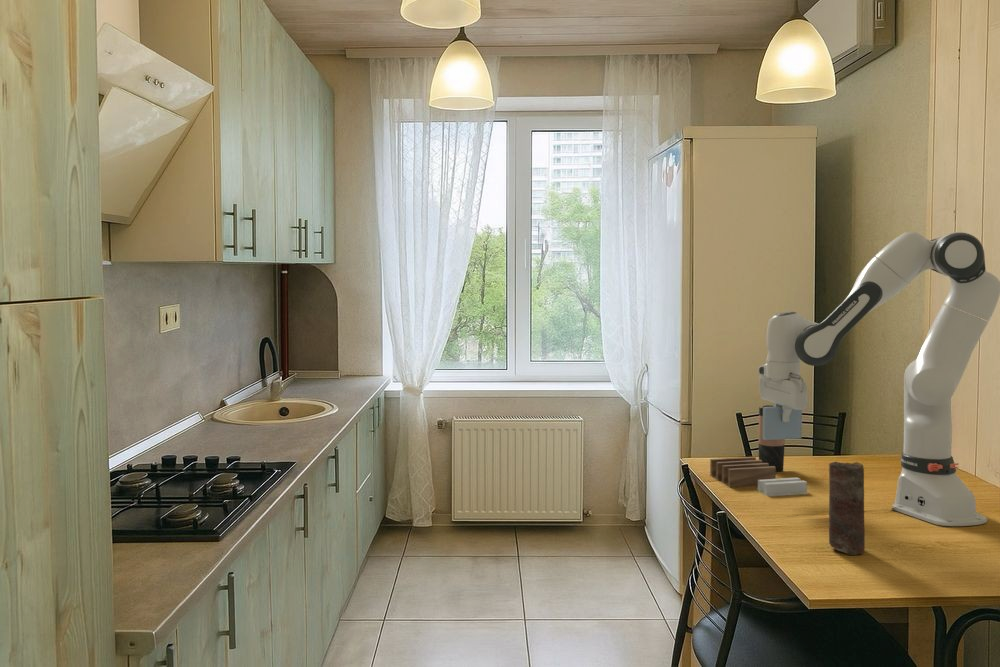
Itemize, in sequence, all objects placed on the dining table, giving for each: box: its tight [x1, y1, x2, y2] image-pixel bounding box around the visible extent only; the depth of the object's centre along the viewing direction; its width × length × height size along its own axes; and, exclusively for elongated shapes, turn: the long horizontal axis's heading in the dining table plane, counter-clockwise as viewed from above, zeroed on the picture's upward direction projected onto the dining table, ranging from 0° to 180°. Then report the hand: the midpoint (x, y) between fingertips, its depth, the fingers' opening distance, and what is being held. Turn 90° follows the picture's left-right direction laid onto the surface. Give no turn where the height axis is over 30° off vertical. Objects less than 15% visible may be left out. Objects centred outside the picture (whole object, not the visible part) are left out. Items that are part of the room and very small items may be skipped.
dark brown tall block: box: [828, 461, 866, 556], centre depth 181 cm, size 8×7×20 cm
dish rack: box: [709, 456, 777, 489], centre depth 238 cm, size 14×14×6 cm
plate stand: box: [756, 476, 809, 497], centre depth 225 cm, size 7×12×4 cm, turn 100°
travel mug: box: [758, 404, 786, 473], centre depth 251 cm, size 8×8×20 cm
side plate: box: [762, 406, 803, 440], centre depth 224 cm, size 1×11×9 cm, turn 100°
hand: (782, 420), depth 224 cm, fingers closed on side plate, 1 cm apart
